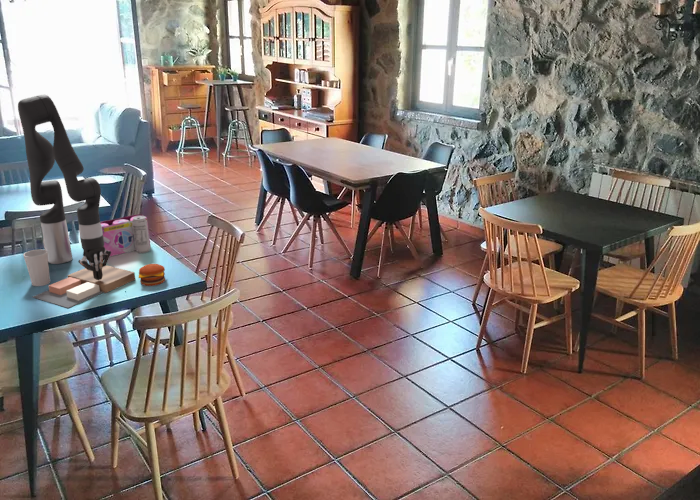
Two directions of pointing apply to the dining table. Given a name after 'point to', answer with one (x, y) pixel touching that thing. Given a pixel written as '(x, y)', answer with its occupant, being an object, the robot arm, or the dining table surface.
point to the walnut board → (105, 277)
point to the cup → (37, 266)
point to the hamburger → (152, 274)
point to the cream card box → (83, 291)
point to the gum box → (119, 235)
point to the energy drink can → (141, 234)
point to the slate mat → (62, 298)
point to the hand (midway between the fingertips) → (98, 279)
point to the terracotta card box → (64, 285)
